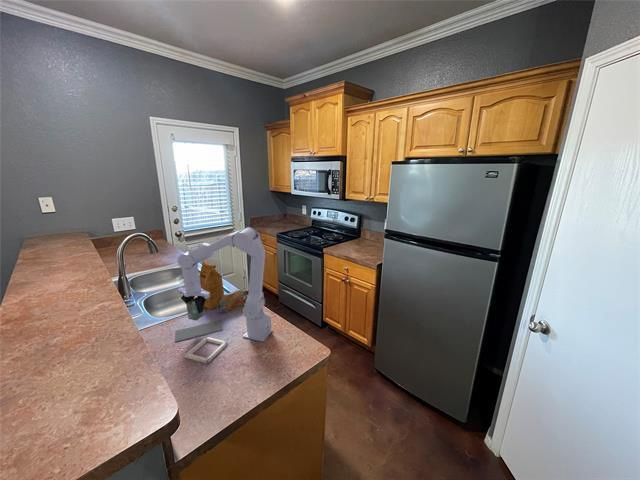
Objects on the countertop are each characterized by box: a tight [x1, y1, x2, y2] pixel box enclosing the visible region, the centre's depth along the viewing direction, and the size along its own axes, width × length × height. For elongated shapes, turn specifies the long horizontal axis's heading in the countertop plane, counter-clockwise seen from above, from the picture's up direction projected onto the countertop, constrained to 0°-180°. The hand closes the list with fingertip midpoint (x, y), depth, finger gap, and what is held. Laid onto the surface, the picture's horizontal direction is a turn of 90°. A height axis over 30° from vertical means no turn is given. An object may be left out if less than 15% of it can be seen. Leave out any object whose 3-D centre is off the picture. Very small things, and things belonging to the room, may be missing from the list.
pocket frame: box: [184, 336, 228, 364], centre depth 98 cm, size 10×11×1 cm
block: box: [185, 300, 206, 321], centre depth 107 cm, size 4×5×7 cm
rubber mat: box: [174, 319, 224, 343], centre depth 110 cm, size 18×8×1 cm, turn 116°
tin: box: [216, 289, 248, 314], centre depth 126 cm, size 15×3×8 cm, turn 134°
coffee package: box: [199, 259, 225, 310], centre depth 130 cm, size 10×12×22 cm
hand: (196, 311), depth 107 cm, fingers closed on block, 4 cm apart
